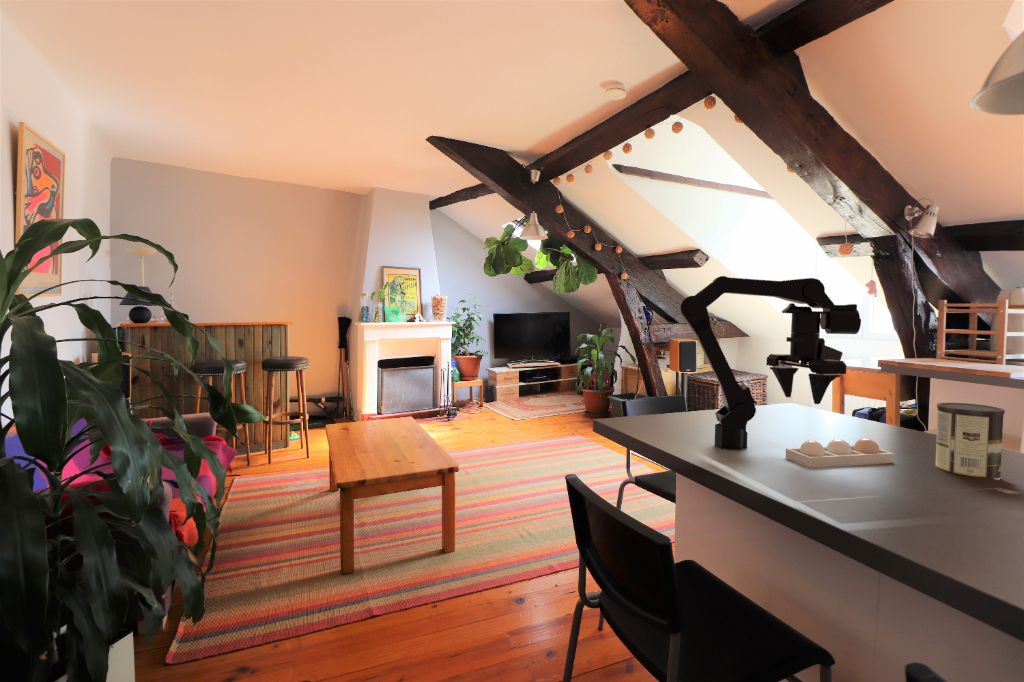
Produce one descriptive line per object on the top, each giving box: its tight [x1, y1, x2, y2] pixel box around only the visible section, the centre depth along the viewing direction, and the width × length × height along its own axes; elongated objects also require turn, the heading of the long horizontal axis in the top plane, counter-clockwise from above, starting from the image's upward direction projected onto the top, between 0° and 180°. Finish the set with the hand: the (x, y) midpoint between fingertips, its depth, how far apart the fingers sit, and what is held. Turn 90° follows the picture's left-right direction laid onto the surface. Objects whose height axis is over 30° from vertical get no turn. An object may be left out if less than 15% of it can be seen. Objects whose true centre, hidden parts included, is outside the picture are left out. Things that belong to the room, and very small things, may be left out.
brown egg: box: [853, 437, 880, 454], centre depth 111 cm, size 5×5×5 cm
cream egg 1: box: [799, 439, 825, 457], centre depth 110 cm, size 5×5×5 cm
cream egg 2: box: [826, 438, 852, 455], centre depth 111 cm, size 5×5×5 cm
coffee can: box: [935, 402, 1006, 481], centre depth 104 cm, size 10×10×14 cm
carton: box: [785, 444, 895, 468], centre depth 111 cm, size 20×7×3 cm, turn 100°
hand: (802, 400), depth 117 cm, fingers open, 9 cm apart
